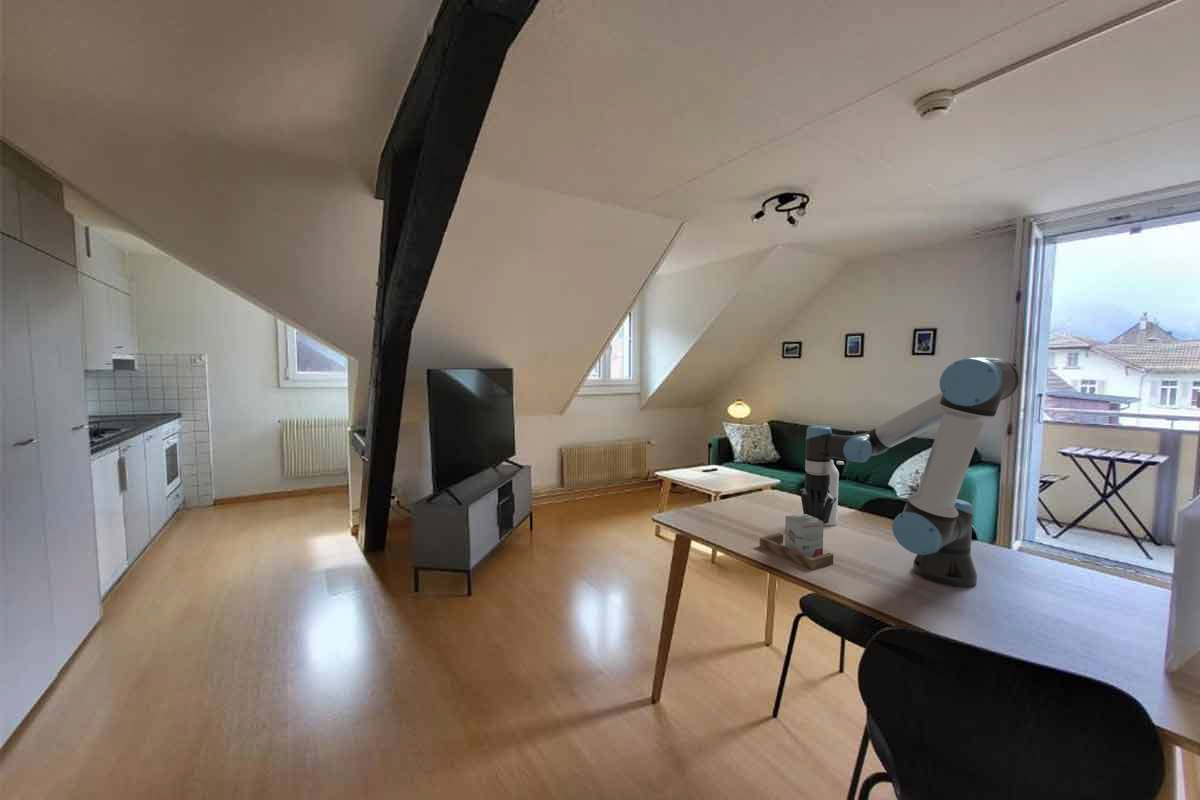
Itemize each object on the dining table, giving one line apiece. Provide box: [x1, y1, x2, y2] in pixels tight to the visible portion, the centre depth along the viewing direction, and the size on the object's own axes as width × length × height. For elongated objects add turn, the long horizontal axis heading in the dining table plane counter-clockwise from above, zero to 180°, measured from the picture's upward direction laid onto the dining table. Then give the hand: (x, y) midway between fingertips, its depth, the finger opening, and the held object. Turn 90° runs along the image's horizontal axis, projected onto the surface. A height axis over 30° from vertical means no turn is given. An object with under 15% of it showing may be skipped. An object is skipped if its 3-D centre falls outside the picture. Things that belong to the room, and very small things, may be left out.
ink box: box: [784, 513, 824, 558], centre depth 156 cm, size 9×9×12 cm
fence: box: [759, 532, 835, 571], centre depth 155 cm, size 21×10×3 cm, turn 27°
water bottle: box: [823, 458, 845, 527], centre depth 183 cm, size 9×6×25 cm
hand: (815, 541), depth 160 cm, fingers closed
